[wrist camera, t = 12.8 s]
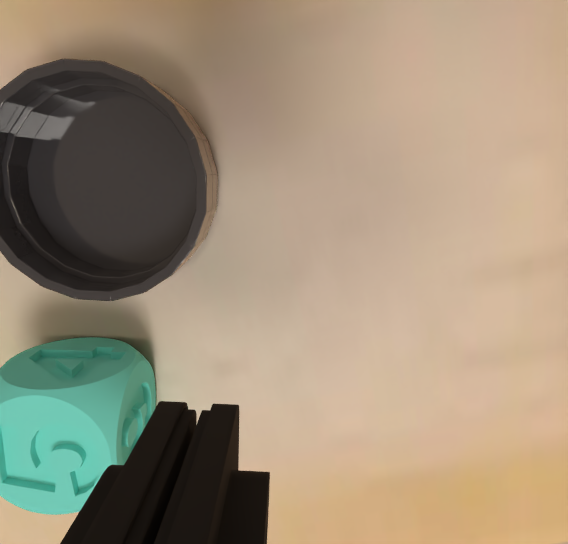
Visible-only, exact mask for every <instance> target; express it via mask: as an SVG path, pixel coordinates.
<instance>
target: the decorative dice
mask: <svg viewBox="0 0 568 544" xmlns="http://www.w3.org/2000/svg"><path fill="white" fill-rule="evenodd" d="M155 405H156V388H155V378H154V373H153V370H152V367H151V365H150V363H149V362H148V361H147V360H146V359H145V357H144V356H143V355H142V354H141V353H140V352H138V351H137V350H136V349H135V348H133V347H132V346H131V345H129V344H127V343H125V342H123V341H119V340H115V339H110V338H99V337H85V338H73V339H65V340H59V341H54V342H50V343H46V344H42V345H39V346H36V347H33V348H30V349H28V350H25V351H23V352H21V353H19V354H17V355H15V356H14V357H12V358H11V359H10V360H8V361H7V362H6V363H5V364H4V365H3V366H2V367H1V368H0V496H1V497H3V498H4V499H5V500H7V501H8V502H10V503H12V504H14V505H16V506H18V507H20V508H22V509H25V510H28V511H32V512H36V513H42V514H55V515H57V514H68V513H74V512H79V511H80V510H81V509H82V507H83V505H84V504H85V502H86V500H87V499H88V497H89V496H90V494H91V492H92V491H93V489H94V487H95V486H96V484H97V482H98V481H99V479H100V477H101V476H102V474H103V472H104V471H105V470H106V468H107V467H108V466H110V465H124V464H125V462H126V461H127V459H128V457H129V455H130V453H131V452H132V450H133V448H134V446H135V444H136V443H137V441H138V439H139V437H140V435H141V433H142V432H143V430H144V428H145V426H146V424H147V423H148V421H149V419H150V417H151V415H152V414H153V412H154V410H155Z"/></svg>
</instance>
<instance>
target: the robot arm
mask: <svg viewBox="0 0 568 544" xmlns="http://www.w3.org/2000/svg"><path fill="white" fill-rule="evenodd" d="M238 453H239V405H229V404H213V405H212V407H211V410H210V411H208V410H203V411H202V412H201V415H200V418H199V420H198V423H197V426H196V411H195V410H188V406H187V403H186V402H165V401H161V402H159V403H158V405H157V406H156V408H155V410H154V412H153V414H152V415H151V417H150V419H149V421H148V423H147V424H146V426H145V428H144V430H143V432H142V433H141V435H140V437H139V439H138V441H137V443H136V444H135V446H134V448H133V450H132V452H131V453H130V455H129V457H128V459H127V461H126V462H125V464H124V465H110V466H108V467H107V468H106V470H105V471H104V472H103V474H102V476H101V477H100V479H99V481H98V482H97V484H96V486H95V487H94V489H93V491H92V492H91V494H90V496H89V497H88V499H87V500H86V502H85V504H84V505H83V507H82V509H81V510H80V512H79V514H78V515H77V517H76V519H75V520H74V522H73V524H72V525H71V527H70V529H69V530H68V532H67V534H66V535H65V537H64V538H63V540H62V542H61V543H60V544H267V527H268V507H269V480H270V472H256V471H238Z"/></svg>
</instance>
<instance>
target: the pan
mask: <svg viewBox="0 0 568 544" xmlns="http://www.w3.org/2000/svg"><path fill="white" fill-rule="evenodd" d="M207 141H208V140H207V139H206V137H205V136H204V134H203V133H202V131H201V129H200V128H199V126H198V125H197V123H196V122H195V120H194V119H193V117H192V116H191V114H190V113H189V112H188V111H187V110H186V109H185V108H184V107H183V106H181V105H180V104H179V103H178V102H177V101H175V100H174V99H173V98H172V97H171V96H169V95H168V94H167V93H166V92H164V91H163V90H162V89H160V88H159V87H157V86H155V85H154V84H152V83H151V82H149V81H147V80H146V79H144V78H143V77H141V76H139V75H137V74H134V73H132V72H129V71H127V70H124V69H122V68H119V67H117V66H114V65H112V64H110V63H107V62H105V61H95V60H78V59H60V60H57V61H53V62H50V63H47V64H43V65H40V66H37V67H33V68H30V69H27V70H25V71H24V72H23V73H21V74H20V75H19V76H17V77H16V78H15V79H13V80H12V81H11V82H10V83H8V84H7V85H6V86H4V87H3V88H2V89H0V251H1V253H2V254H3V255H4V256H5V258H6V259H7V260H8V261H9V263H10V264H11V265H13V266H14V267H15V268H17V269H18V270H19V271H21V272H22V273H24V274H25V275H26V276H28V277H29V278H31V279H32V280H33V281H35V282H36V283H38V284H39V285H40V286H43V287H44V288H47V289H50V290H53V291H55V292H58V293H61V294H64V295H66V296H69V297H72V298H75V299H83V300H101V301H114V300H118V299H122V298H126V297H130V296H134V295H137V294H141V293H144V292H147V291H148V290H150V289H151V288H153V287H154V286H156V285H157V284H159V283H160V282H162V281H164V280H165V279H167V278H168V277H170V276H171V275H173V274H174V273H175V272H176V271H177V270H178V269H179V268H180V267H181V266H182V265H183V264H184V263H186V262H187V261H188V260H189V259H190V257H191V256H192V255H193V253H194V252H195V251H196V250H197V248H198V247H199V246H200V245H201V243H202V242H203V241H204V239H205V238H206V236H207V234H208V231H209V229H210V226H211V223H212V220H213V217H214V214H215V212H216V209H217V189H218V175H217V170H216V166H215V163H214V160H213V156H212V153H211V149H210V146H209V143H208V142H207Z"/></svg>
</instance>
